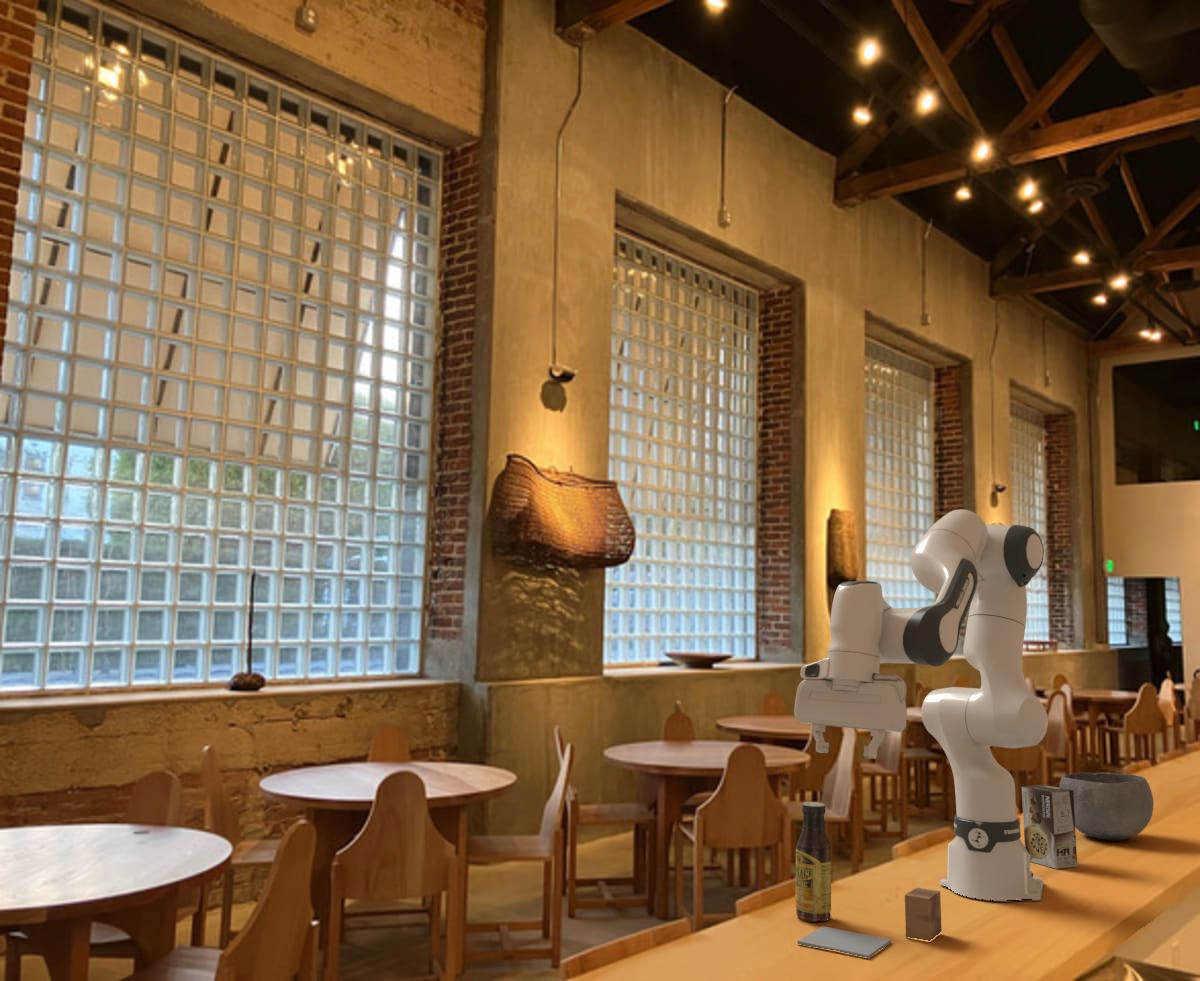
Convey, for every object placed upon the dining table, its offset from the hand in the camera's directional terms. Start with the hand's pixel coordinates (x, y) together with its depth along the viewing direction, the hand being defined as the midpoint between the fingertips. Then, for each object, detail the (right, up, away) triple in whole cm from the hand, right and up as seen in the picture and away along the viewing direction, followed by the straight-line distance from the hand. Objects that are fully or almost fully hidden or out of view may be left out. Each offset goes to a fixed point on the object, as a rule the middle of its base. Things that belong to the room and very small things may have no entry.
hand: (845, 755), depth 173 cm
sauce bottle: (-3, -32, +10) cm, 33 cm away
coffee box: (+57, -37, +52) cm, 85 cm away
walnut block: (+13, -30, 0) cm, 33 cm away
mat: (-1, -30, -4) cm, 30 cm away
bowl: (+82, -40, +78) cm, 120 cm away
